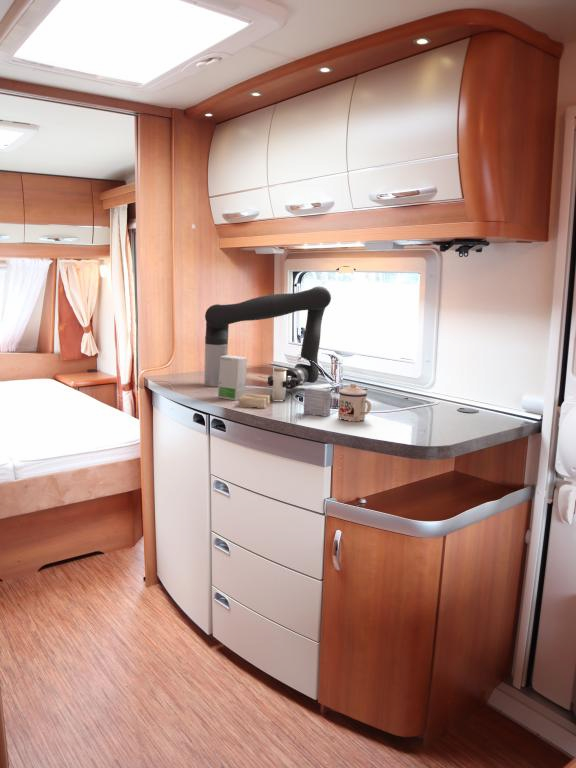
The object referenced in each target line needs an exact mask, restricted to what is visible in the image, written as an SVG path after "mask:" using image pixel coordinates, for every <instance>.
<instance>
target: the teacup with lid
mask: <svg viewBox="0 0 576 768" xmlns="http://www.w3.org/2000/svg"><path fill="white" fill-rule="evenodd" d="M349 385H350V386H347V387H344V388H342V389H339V391H338V396H339V398H338V399H339V400H338V415H337V417H339V418H341V419H345V420H350V421H349V422H351V421H358V422H361V421H360V420H363V421H365V419H366V415H368V414H370V411H371V410H372V404H371V401H370V400H369V399H367V396H368V393H367V391H366V390H364V389H361V388H360V387H359V386H357V383H353V382H351V383H350V384H349ZM366 404H367V408H366ZM339 418H338V419H339ZM341 419H340V420H341Z"/></svg>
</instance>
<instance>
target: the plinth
mask: <svg viewBox="0 0 576 768" xmlns="http://www.w3.org/2000/svg"><path fill="white" fill-rule="evenodd" d="M269 403H270V404H271V395H268V394H256V393H255V394H253V393H245V395H243V396H241V397H240V398H239V400H238V407H241V408H251V407H257V408H256V409H266V408H267V407H268V406H269V405H270V404H269ZM268 404H269V405H268ZM267 405H268V406H267ZM266 406H267V407H266ZM265 407H266V408H265Z"/></svg>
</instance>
